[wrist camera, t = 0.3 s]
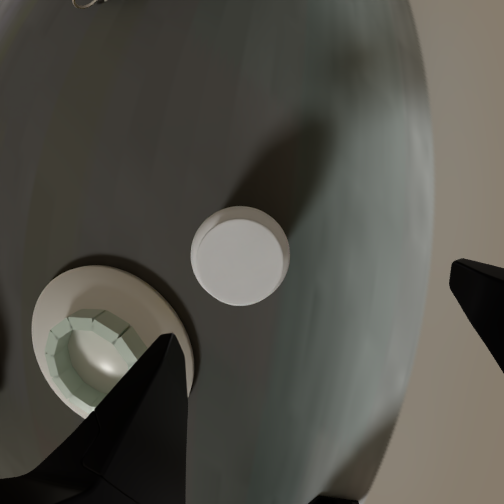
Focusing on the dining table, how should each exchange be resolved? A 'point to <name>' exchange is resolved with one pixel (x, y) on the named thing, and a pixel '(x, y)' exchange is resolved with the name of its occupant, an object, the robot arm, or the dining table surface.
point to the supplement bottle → (240, 255)
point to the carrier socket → (99, 332)
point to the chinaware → (84, 5)
